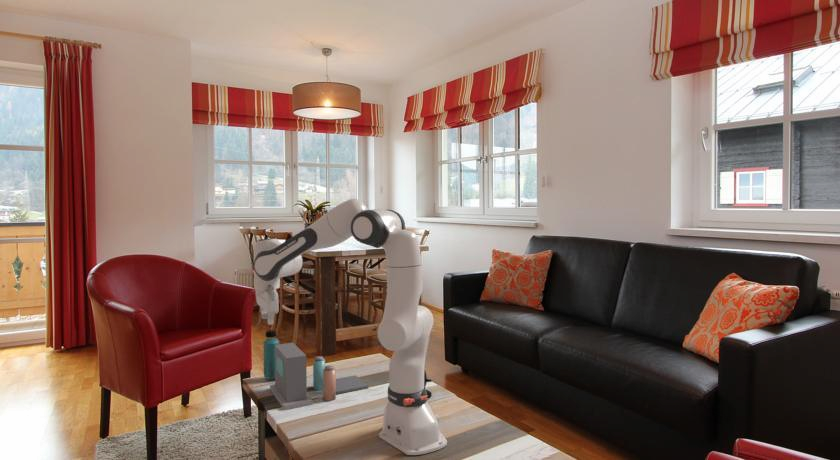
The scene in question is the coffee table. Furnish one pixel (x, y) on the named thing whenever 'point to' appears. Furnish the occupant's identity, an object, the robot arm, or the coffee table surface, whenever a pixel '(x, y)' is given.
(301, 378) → the block
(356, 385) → the pad
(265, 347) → the beverage bottle
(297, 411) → the coffee table surface
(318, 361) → the cylinder
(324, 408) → the coffee table surface
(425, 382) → the webcam
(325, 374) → the terracotta cartridge
